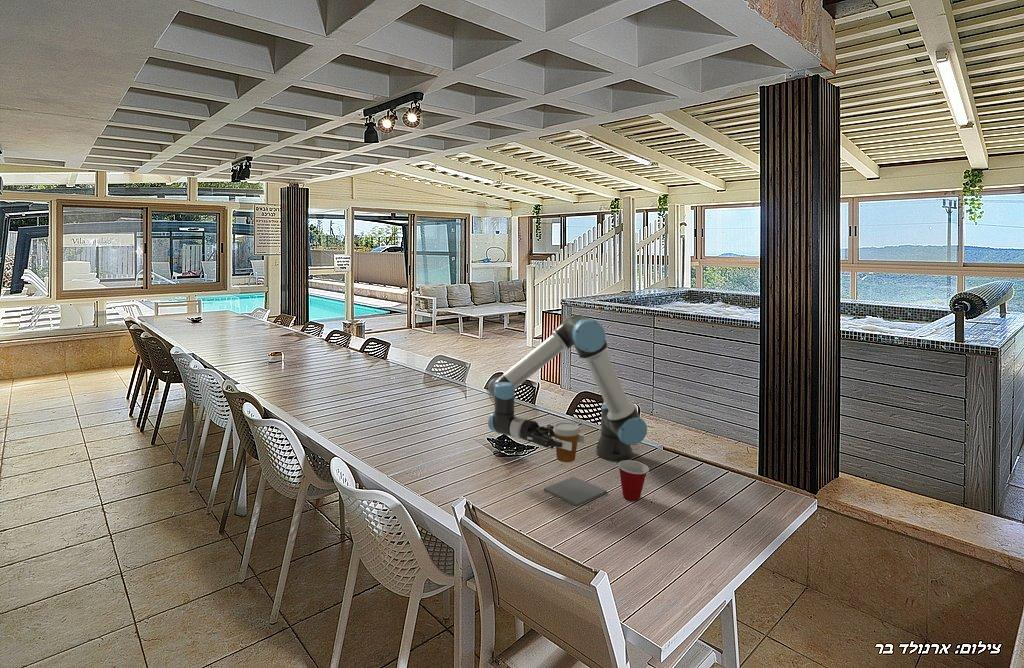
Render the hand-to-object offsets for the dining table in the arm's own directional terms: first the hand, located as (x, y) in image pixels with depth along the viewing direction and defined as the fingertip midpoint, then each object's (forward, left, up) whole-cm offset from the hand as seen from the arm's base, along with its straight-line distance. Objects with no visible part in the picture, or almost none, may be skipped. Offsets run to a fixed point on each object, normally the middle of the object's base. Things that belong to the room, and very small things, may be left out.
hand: (578, 442), depth 196 cm
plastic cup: (-16, +12, -21) cm, 29 cm away
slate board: (-4, -4, -21) cm, 21 cm away
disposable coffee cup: (+1, -5, -7) cm, 9 cm away
